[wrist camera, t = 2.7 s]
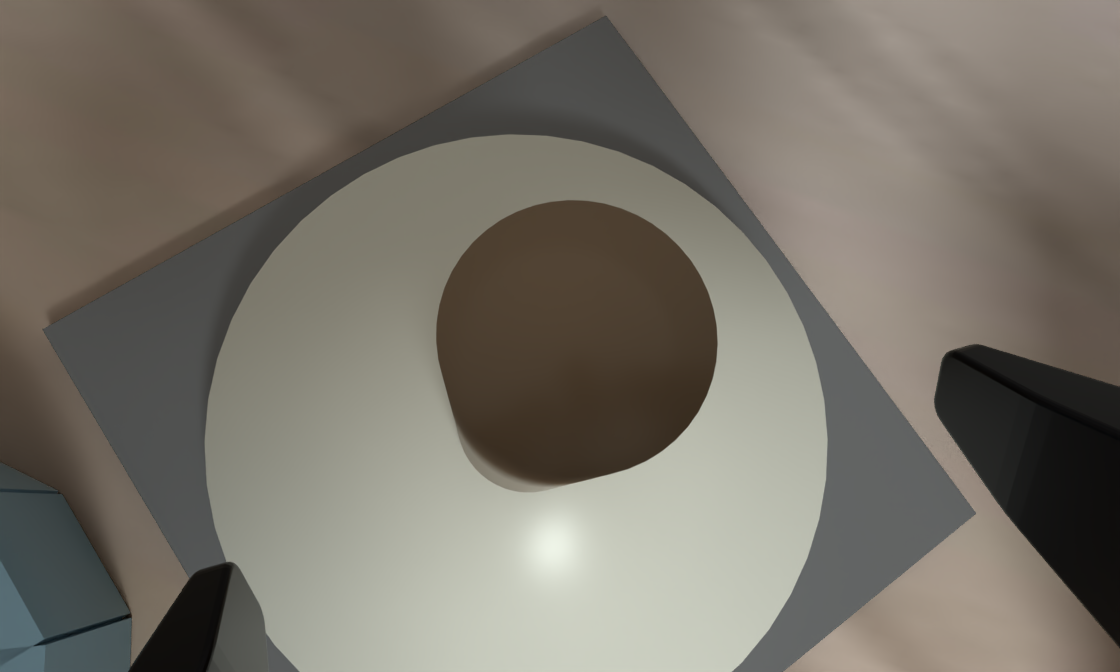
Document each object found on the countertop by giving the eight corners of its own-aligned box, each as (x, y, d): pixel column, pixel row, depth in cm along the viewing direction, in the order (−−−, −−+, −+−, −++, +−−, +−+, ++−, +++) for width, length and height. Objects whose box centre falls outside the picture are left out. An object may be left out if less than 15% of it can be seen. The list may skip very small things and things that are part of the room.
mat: (965, 513, 20) (976, 513, 19) (421, 957, 16) (419, 968, 16) (603, 24, 21) (606, 15, 21) (51, 333, 18) (42, 329, 18)
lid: (921, 502, 19) (1383, 498, 9) (435, 890, 16) (370, 1465, 6) (597, 61, 21) (701, -332, 11) (104, 341, 18) (-339, 144, 8)
